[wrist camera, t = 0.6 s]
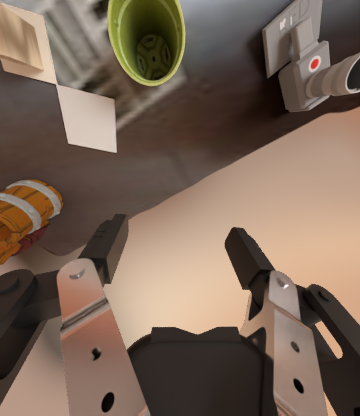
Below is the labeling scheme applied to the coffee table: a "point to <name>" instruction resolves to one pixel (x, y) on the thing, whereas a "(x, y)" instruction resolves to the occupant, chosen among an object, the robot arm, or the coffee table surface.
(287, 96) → the camera
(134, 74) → the plant pot
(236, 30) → the coffee table surface
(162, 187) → the coffee table surface
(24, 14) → the code tile
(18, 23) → the beech block
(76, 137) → the felt pad
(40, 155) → the coffee table surface
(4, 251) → the mug
